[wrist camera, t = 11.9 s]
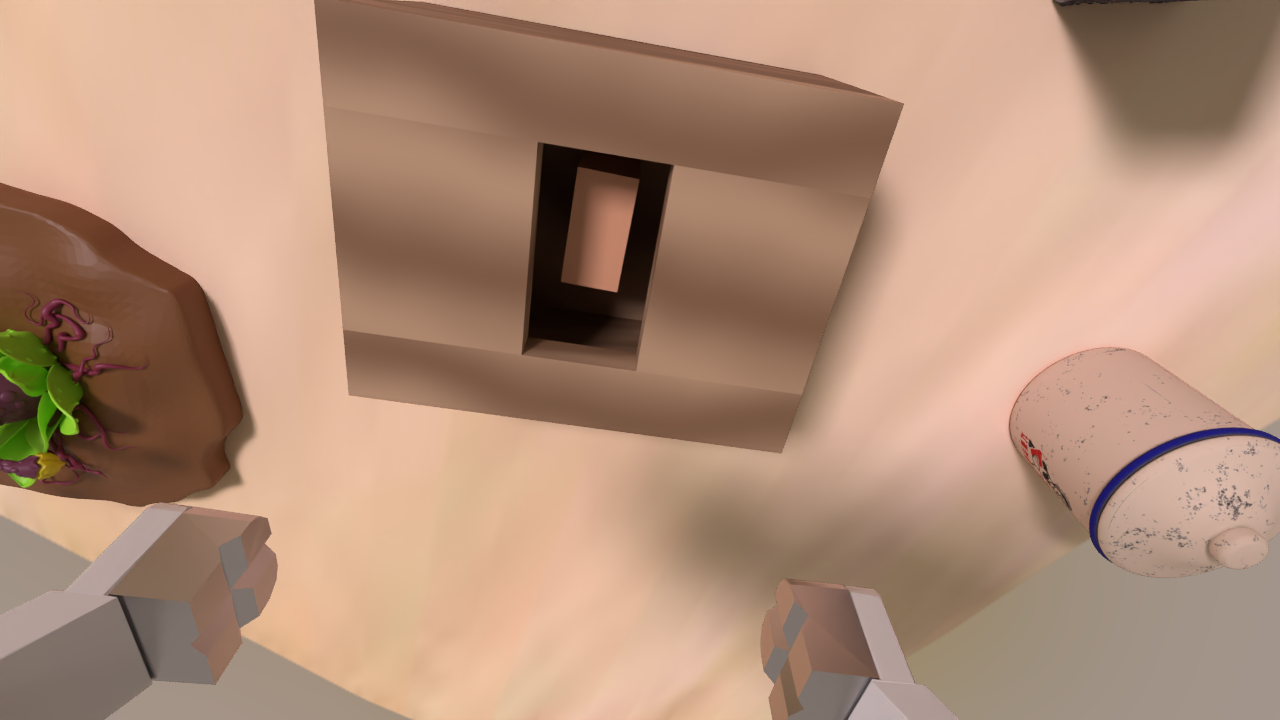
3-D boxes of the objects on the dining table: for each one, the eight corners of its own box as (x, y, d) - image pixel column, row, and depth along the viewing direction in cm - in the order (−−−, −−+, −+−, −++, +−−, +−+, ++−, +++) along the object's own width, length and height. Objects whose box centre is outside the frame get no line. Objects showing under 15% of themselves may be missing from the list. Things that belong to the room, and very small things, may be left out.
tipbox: (422, 1, 26) (314, -4, 18) (822, 75, 28) (904, 103, 19) (425, 295, 33) (348, 395, 25) (746, 342, 35) (781, 453, 26)
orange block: (587, 143, 29) (577, 166, 24) (640, 154, 29) (639, 179, 24) (572, 244, 31) (560, 281, 27) (620, 253, 31) (617, 292, 27)
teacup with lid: (970, 432, 38) (1091, 586, 28) (1086, 314, 34) (1277, 443, 24) (1108, 501, 40) (1263, 663, 30) (1230, 399, 36) (1456, 548, 26)
